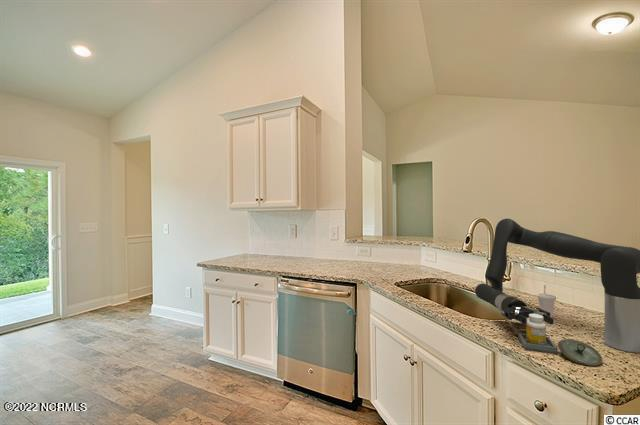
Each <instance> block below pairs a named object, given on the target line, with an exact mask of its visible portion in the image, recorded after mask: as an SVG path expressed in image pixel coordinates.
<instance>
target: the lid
mask: <svg viewBox="0 0 640 425" xmlns="http://www.w3.org/2000/svg"><path fill="white" fill-rule="evenodd" d="M557 348H558V349H559V351H560V352H561V354H562V355H564V357H566V358H567V359H568V360H570V361H571V362H573V363H575V364H579V365H582V366H586V367H598V366H600V365H601V364H602V363H603V358H602V355H601V353H600V352H599V351H598V350H597V349H596V348H594V347H592V346H591V345H589V344H588V343H585V342H583V341H580V340H576V339H574V338H573V339H572V338H564V339H561V340H559V341H557Z"/></svg>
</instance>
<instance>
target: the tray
mask: <svg viewBox="0 0 640 425" xmlns="http://www.w3.org/2000/svg"><path fill="white" fill-rule="evenodd" d="M518 340H519V342H520V344H521V345H522V347H523V349H524V350H525V351H530V352H531V351H532V352H537V353H538V352H540V353H544V354H545V353H547V354H552V353H553V354H554V355H558V349H559V348H558V346H556V345H555V342H553V340H552V339H551V338H550V337H549V336H546V346H544V345H537V344H529V343H527V340H526V334H521V333H519V335H518ZM553 354H552V355H553Z"/></svg>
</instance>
